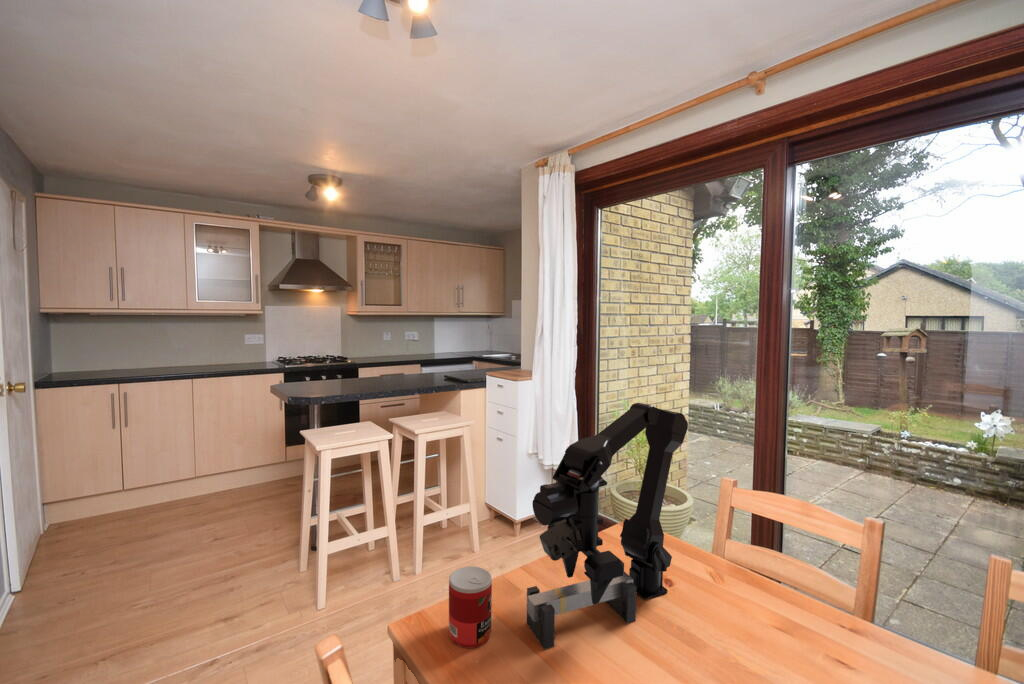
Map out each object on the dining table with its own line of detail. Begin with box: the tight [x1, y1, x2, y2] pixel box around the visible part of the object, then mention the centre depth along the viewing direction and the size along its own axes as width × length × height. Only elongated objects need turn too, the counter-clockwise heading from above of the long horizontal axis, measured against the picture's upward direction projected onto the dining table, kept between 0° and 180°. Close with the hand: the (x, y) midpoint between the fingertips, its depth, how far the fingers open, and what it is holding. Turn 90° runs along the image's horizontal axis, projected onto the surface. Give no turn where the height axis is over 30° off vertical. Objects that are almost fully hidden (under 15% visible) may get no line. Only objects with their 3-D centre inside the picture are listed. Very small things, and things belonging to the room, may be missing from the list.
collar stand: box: [526, 582, 637, 650], centre depth 88 cm, size 20×8×7 cm, turn 113°
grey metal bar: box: [526, 571, 633, 621], centre depth 88 cm, size 22×3×3 cm, turn 113°
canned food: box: [448, 566, 493, 649], centre depth 84 cm, size 8×8×11 cm
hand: (582, 589), depth 88 cm, fingers open, 9 cm apart
